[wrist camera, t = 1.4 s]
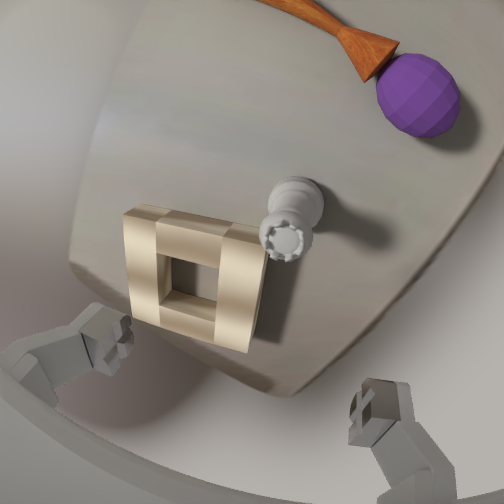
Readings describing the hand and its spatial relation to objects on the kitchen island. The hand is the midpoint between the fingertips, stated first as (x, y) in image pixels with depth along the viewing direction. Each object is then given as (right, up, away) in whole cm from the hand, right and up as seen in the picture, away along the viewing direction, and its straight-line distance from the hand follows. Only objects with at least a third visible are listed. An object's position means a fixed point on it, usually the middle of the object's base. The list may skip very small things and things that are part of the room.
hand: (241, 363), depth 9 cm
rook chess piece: (+4, +8, +15) cm, 17 cm away
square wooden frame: (-5, +2, +20) cm, 21 cm away
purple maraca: (+7, +20, +8) cm, 22 cm away
